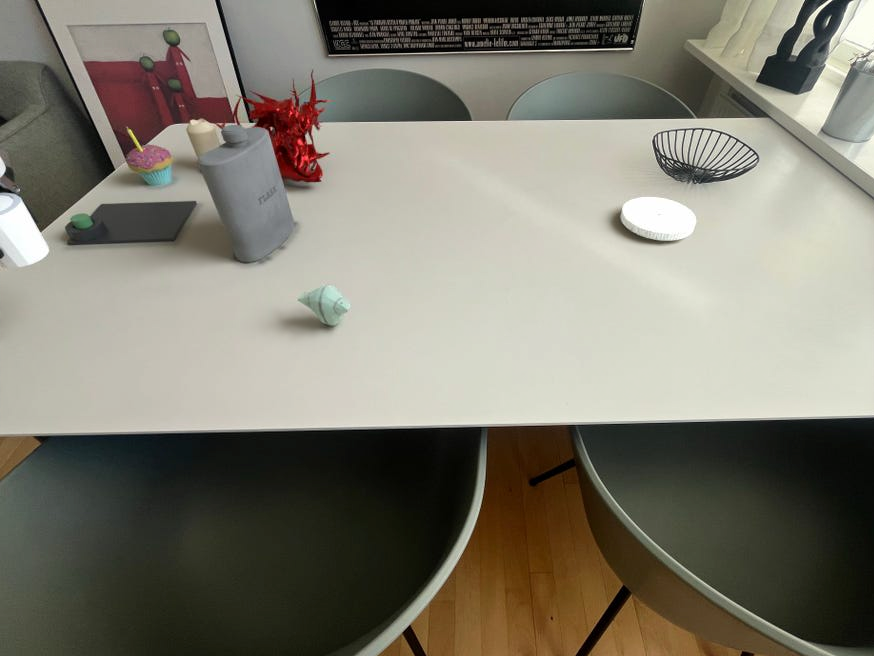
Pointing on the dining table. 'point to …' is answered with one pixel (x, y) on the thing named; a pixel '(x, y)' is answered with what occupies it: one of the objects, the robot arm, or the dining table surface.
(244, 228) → the flask
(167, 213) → the scale
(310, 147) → the sculptural form
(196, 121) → the candle
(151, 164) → the cupcake
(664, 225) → the plastic lid
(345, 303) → the mint green pointed part
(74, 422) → the dining table surface
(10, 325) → the dining table surface
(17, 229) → the shot glass
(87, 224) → the tare button
